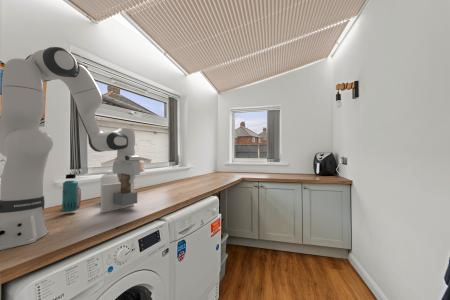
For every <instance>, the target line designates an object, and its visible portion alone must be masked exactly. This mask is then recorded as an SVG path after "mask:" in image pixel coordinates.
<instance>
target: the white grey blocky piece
mask: <svg viewBox="0 0 450 300" xmlns="http://www.w3.org/2000/svg"><path fill="white" fill-rule="evenodd" d="M134 204H138V191H135V182H133V183H131V193H125V194H123V193H121V183H114V184H105V185H101V184H100V213H106V212H111V211H115V210H121V209H124V208H129V207H133V206H135V205H134Z"/></svg>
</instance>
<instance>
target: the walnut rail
mask: <svg viewBox="0 0 450 300" xmlns="http://www.w3.org/2000/svg"><path fill="white" fill-rule="evenodd" d="M130 178H131V177H130V175H126V174H124V173H121V193H123V194H125V193H131V183H129V180H130Z"/></svg>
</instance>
